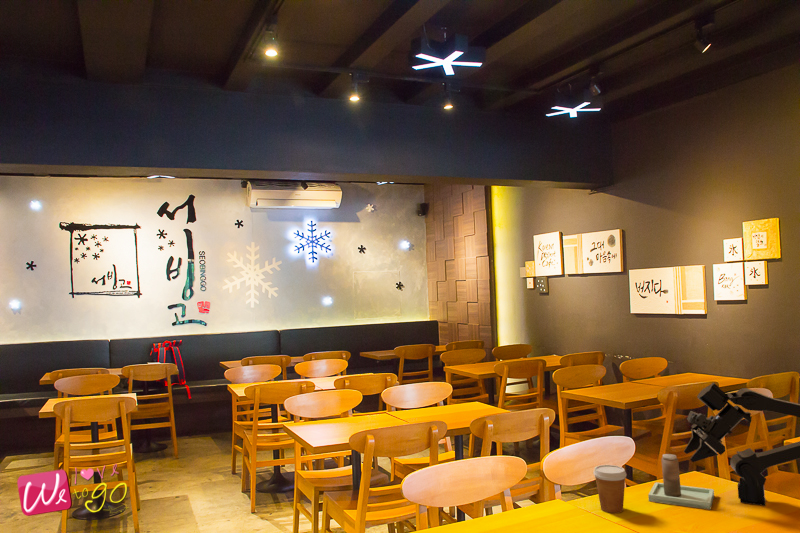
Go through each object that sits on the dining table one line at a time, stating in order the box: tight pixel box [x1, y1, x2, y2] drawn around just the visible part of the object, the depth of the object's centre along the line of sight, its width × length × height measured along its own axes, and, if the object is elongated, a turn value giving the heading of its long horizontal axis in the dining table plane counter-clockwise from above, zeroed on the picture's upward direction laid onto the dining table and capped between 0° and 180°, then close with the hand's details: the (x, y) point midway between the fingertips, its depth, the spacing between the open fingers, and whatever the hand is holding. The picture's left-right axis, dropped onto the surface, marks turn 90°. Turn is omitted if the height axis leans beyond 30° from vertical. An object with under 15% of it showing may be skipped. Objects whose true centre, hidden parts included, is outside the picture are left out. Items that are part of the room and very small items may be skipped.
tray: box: [647, 482, 715, 511], centre depth 184 cm, size 17×13×2 cm
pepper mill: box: [661, 453, 681, 497], centre depth 186 cm, size 5×5×12 cm
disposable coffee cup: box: [592, 464, 627, 514], centre depth 178 cm, size 10×10×12 cm
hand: (688, 456), depth 185 cm, fingers open, 9 cm apart
